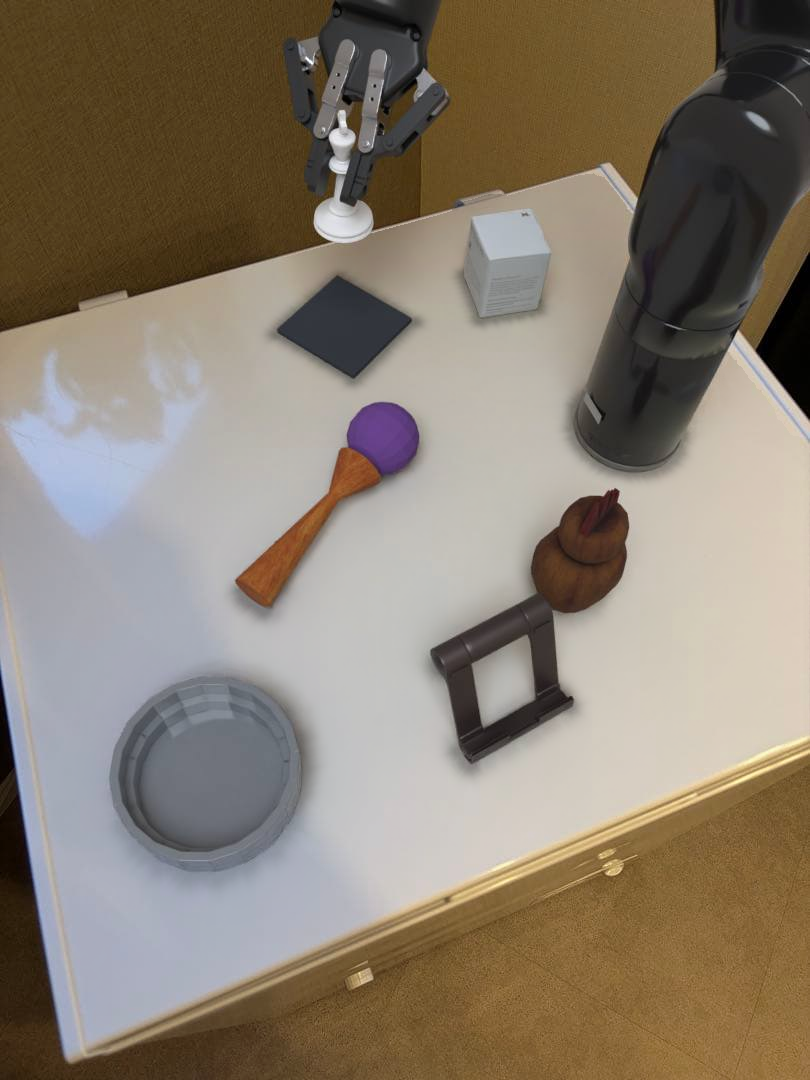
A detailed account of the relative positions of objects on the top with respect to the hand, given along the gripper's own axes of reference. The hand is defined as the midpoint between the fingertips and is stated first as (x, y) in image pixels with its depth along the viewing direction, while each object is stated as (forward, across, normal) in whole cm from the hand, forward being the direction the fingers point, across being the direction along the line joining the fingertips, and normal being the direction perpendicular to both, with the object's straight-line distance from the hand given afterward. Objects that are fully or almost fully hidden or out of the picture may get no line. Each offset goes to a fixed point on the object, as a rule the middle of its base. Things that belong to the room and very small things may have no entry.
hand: (331, 198), depth 69 cm
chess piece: (+1, 0, +4) cm, 5 cm away
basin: (+40, +10, -18) cm, 44 cm away
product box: (+3, +12, +20) cm, 24 cm away
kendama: (+24, +8, -1) cm, 25 cm away
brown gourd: (+22, +28, 0) cm, 36 cm away
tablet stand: (+30, +25, -8) cm, 40 cm away
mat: (+10, 0, +13) cm, 16 cm away
